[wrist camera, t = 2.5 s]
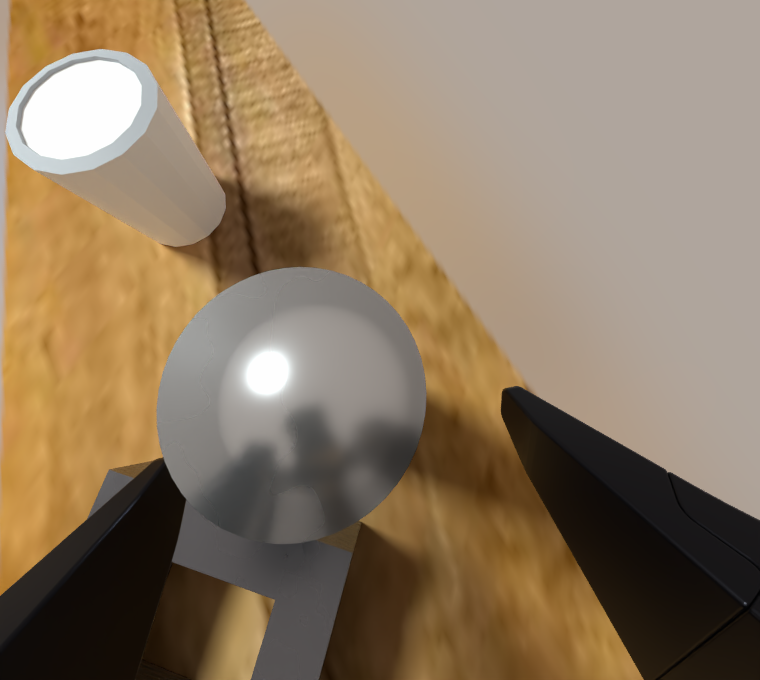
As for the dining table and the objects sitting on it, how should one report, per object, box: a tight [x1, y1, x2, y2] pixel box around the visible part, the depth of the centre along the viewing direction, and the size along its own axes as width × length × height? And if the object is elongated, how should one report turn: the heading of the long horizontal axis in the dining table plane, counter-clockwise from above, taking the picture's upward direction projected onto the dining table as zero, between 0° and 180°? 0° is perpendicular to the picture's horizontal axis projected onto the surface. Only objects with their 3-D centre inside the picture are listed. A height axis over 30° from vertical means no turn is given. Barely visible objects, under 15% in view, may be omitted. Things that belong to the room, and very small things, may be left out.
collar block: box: [87, 461, 361, 680], centre depth 13 cm, size 11×11×4 cm
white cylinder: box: [5, 49, 226, 247], centre depth 17 cm, size 7×7×7 cm
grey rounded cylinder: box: [157, 267, 426, 544], centre depth 11 cm, size 4×4×12 cm
